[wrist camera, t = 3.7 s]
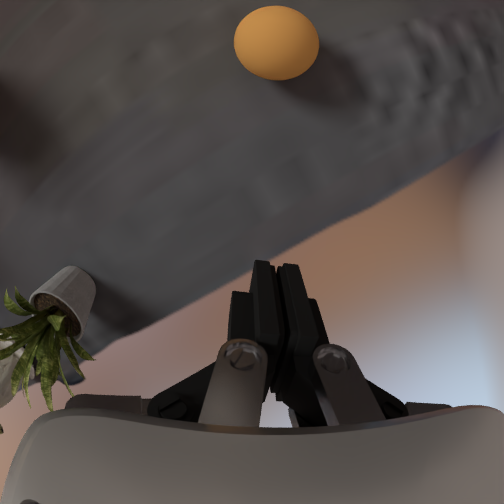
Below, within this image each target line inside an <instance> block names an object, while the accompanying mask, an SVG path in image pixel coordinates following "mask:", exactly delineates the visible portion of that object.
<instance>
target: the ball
mask: <svg viewBox="0 0 504 504" xmlns="http://www.w3.org/2000/svg"><path fill="white" fill-rule="evenodd" d="M234 48H235V52H236V55H237V57H238V59H239V60H240V62H241V63H242V64H243V66H244V67H245V68H246V69H248V70H249V71H250V72H252V73H253V74H255V75H257V76H259V77H262V78H265V79H269V80H287V79H291V78H294V77H297V76H299V75H301V74H302V73H304V72H305V71H306V70H307V69H308V68H310V66H311V65H312V64H313V63H314V61H315V59H316V57H317V54H318V50H319V38H318V34H317V32H316V29H315V28H314V26H313V24H312V23H311V22H310V21H309V19H308V18H307V17H305V16H304V15H303V14H301V13H300V12H298V11H296V10H294V9H291V8H288V7H284V6H267V7H262V8H259V9H257V10H255V11H253V12H251V13H250V14H248V15H247V16H246V17H245V18H244V19H243V20H242V21H241V22H240V24H239V25H238V27H237V29H236V32H235V36H234Z"/></svg>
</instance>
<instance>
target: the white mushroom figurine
mask: <svg viewBox="0 0 504 504" xmlns="http://www.w3.org/2000/svg"><path fill="white" fill-rule="evenodd" d="M0 335H1V334H0ZM9 338H12V337H11V336H10V337H9ZM7 339H8V338H7ZM13 343H15V341H5V342H4V341H0V350H2V349H4V348H6V347H8V346H10V345H12V344H13ZM23 352H24V348H23V347H22V348H20V349H19V350H17V351H16V352H14V353H13V354H12V355H11V356H9V357H8V358H5V359H3V360H0V408H1V407H3V406H5V405H6V404H7V403H9V402H10V401H11V400H12V399H13V395H12V393H11V388H12V387H11V376H12V373H13V370H14V368H15V366H16V364H17V362H18V360H19V359H20V357H21V355H22V354H23ZM32 366H34V365H32ZM32 366H31V370H30V374H29V378H31V379H34V375H35V374H34V368H33V367H32ZM23 375H24V374H23ZM22 381H23V376H22V378H21V380H20V382H19V385H18V389H19V387H20V385H21V383H22ZM18 389H17V391H18ZM17 391H16V393H17ZM14 396H15V395H14ZM2 433H3V428H2V426H1V424H0V434H2Z"/></svg>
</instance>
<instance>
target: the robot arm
mask: <svg viewBox="0 0 504 504" xmlns="http://www.w3.org/2000/svg"><path fill="white" fill-rule="evenodd" d="M227 340H228V341H227V342H226V343H225V344H223V345H222V347H221V348H220V350H219V353H218V356H217V360H216V361H215V362H214V363H212V364H210V365H209V366H207V367H205V368H203V369H202V370H200V371H199V372H197V373H195V374H193V375H191V376H190V377H188V378H186V379H184V380H182V381H181V382H179V383H177V384H175V385H173V386H172V387H170V388H168V389H166V390H164V391H163V392H161V393H159V394H157V395H156V396H154V397H153V398H152V399H141V396H115V395H92V394H80V395H76V396H74V397H72V398H70V400H69V401H68V402H67V403H66V406H65V409H61V410H57V411H52V412H49V413H46V414H43V415H42V416H40V417H39V418H37V419H36V420H35V421H34V422H33V423H32V424H31V426H30V427H29V429H28V430H27V431H26V433H25V435H24V436H23V438H22V440H21V442H20V444H19V447H18V449H17V451H16V453H15V456H14V458H13V461H12V463H11V466H10V469H9V472H8V475H7V479H6V481H5V486H4V489H3V493H2V498H1V502H0V504H504V414H503V413H502V412H501V411H499V410H497V409H495V408H492V407H488V406H482V405H467V406H458V407H451V406H450V405H446V404H431V403H415V402H414V403H413V402H407V403H406V404H405V405H404V404H403V402H401V401H400V400H399V399H397V398H396V397H394V396H392V395H391V394H389V393H388V392H386V391H384V390H383V389H381V388H379V387H378V386H376V385H375V384H373V383H372V382H370V381H368V380H367V379H365V377H364V375H363V374H362V372H361V370H360V368H359V366H358V364H357V362H356V360H355V358H354V357H353V356H352V354H351V353H350V352H349V351H348V350H346V349H345V348H343V347H341V346H339V345H335V344H330V343H329V340H328V337H327V333H326V330H325V327H324V323H323V320H322V317H321V314H320V311H319V307H318V304H317V302H316V300H315V299H310V298H308V296H307V293H306V289H305V286H304V282H303V279H302V275H301V272H300V269H299V266H298V265H296V264H288V263H284V264H283V266H282V267H281V266H278V268H277V272H276V271H275V266H272V265H270V262H269V261H261V260H255V262H254V267H253V273H252V279H251V285H250V290H249V293H247V292H239V291H232V297H231V304H230V312H229V323H228V338H227ZM269 387H270V391H271V393H276V401H283V403H285V404H286V405H287V406H288V407H289V409H288V410H289V417H290V420H291V424H292V427H293V428H268V427H267V428H265V427H264V428H263V427H259V423H260V416H261V409H262V403H263V402H265V399H266V396H267V393H268V390H269Z"/></svg>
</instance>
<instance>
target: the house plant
mask: <svg viewBox="0 0 504 504" xmlns="http://www.w3.org/2000/svg"><path fill="white" fill-rule="evenodd" d="M7 288H8V287H7ZM95 295H96V286H95V283H94V281H93V280H92V278H91V276H89V275H88V274H87V273H86V272H85V271H83V270H82V269H80V268H78V267H76V266H67V267H65V268H63V269H62V270H61V271H59V272H58V273H57V274H56V275H54V276H53V277H52V278H51V279H49V280H48V281H47V282H46V283H44V284H43V285H42V286H41V287H40V288H38V289H37V290H36V291H35V292H34V293H33V294H32V295H31V296H30V300H29V302H28V301H27V300H26V299H25V298H23V297H22V296H21V295H20V294H19V292H18V291H17V289H16V286H15V298H16V300H17V302H18V304H19V305H20V306H21V307H22V308H23V309H25V310H26V311H24V310H22V309H21V308H19V307H18V306H17V305H16V304H15V303H14V302H13V301H12V300H11V299H10V297H9V296H8V294H7V290H6V293H5V297H4V304H5V306H6V308H7V309H8V310H9V311H10V312H12V313H14V314H17V315H21V316H27V315H32V316H33V317H31V318H30V319H28V320H26V321H24V322H23V323H20V324H18V325H15V326H12V327H7V328H2V329H0V334H1V335H0V341H4V342H5V341H15V343H13V344H12V345H10V346H8V347H6V348H4V349H2V350H0V360H3V359H5V358H8V357H9V356H11V355H12V354H13V353H14V352H16V351H17V350H19V349H20V348H22V347H23V346H24V345H26V344H27V343H28V344H27V345H26V347H25V349H24V352H23V354H22V355H21V357H20V359H19V360H18V362H17V364H16V366H15V368H14V370H13V373H12V376H11V387H12V388H11V393H12V395H13V397H14V395H15V394H16V391H17V389H18V385H19V382H20V380H21V378H22V376H23V380H24V388H25V393H26V397H27V400H28V403H29V406H30V401H29V396H28V379H29V374H30V370H31V366H32V363H33V360H34V357H35V355H36V358H37V360H38V363H37V367H36V376H37V375H38V374H39V373H40V372H41V390H42V392H43V396H44V398H45V400H46V404H47V406H48V409H49V410H50V411H51V412H52V411H53V406H52V397H51V396H52V395H51V386H52V385H53V384H54V383H55V382H56V380H57V377H58V374H59V375H60V376H61V375H62V378H63V381H64V383H65V385H66V387H67V389H68V391H69V392H70V394H71V395H72V397H74V395H73V393H72V392H71V390H70V389H69V386H68V384H67V382H66V380H65V377H64V375H63V372H62V369H61V366H60V349H61V347H62V348H63V350H64V352H65V353H66V355H67V357H68V359H69V360H70V362H71V364H72V365H73V367H74V368H75V370H76V371H77V372H78V373H79V374H80V375H81V376H82V377H83V378H84V375H83V373H82V372H81V370H80V369H79V366H78V362H77V359H76V357H75V356H74V354H73V352H72V350H71V348H70V346H69V343H71V344H72V346H73V348H74V350H75V351H76V353H77V354H78V355H79V356H80V357H81V358H83V359H85V360H93V361H94V359H93V358H92V357H91V356H90V355H89V354H88V353H87V352H86V351H85V350H84V349H83V348H82V347H81V346H80V345H79V344H78V343H77V341H78V340H80V339H81V337H82V336H83V333H84V330H85V326H86V323H87V320H88V316H89V313H90V310H91V307H92V304H93V301H94V298H95ZM25 328H26V329H25ZM10 336H11V337H12V338H9V337H10ZM7 338H8V339H7ZM54 338H55V339H54ZM59 367H60V372H61V374H60V372H59ZM23 374H24V375H23ZM84 379H85V378H84ZM22 389H23V381H22ZM30 407H31V406H30Z"/></svg>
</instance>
